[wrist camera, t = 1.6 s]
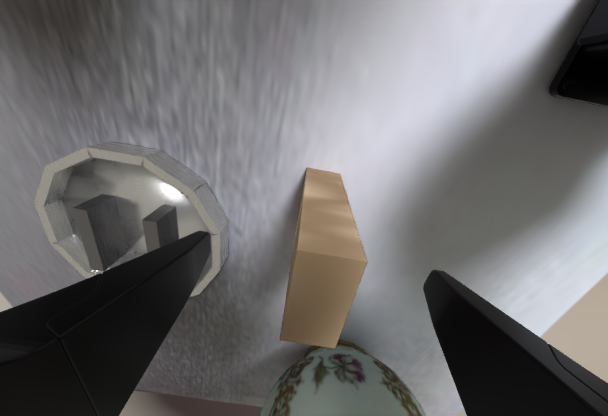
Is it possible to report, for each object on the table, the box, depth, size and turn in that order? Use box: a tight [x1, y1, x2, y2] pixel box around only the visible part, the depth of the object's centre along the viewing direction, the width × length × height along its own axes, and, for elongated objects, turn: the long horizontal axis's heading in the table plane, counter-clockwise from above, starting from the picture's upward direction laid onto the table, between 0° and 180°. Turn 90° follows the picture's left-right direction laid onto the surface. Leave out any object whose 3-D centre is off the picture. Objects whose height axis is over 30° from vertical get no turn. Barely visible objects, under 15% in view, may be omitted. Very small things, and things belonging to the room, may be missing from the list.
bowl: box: [260, 341, 426, 416], centre depth 18 cm, size 14×13×8 cm
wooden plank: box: [280, 168, 368, 348], centre depth 11 cm, size 2×4×8 cm, turn 170°
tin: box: [34, 142, 229, 297], centre depth 15 cm, size 11×11×2 cm
